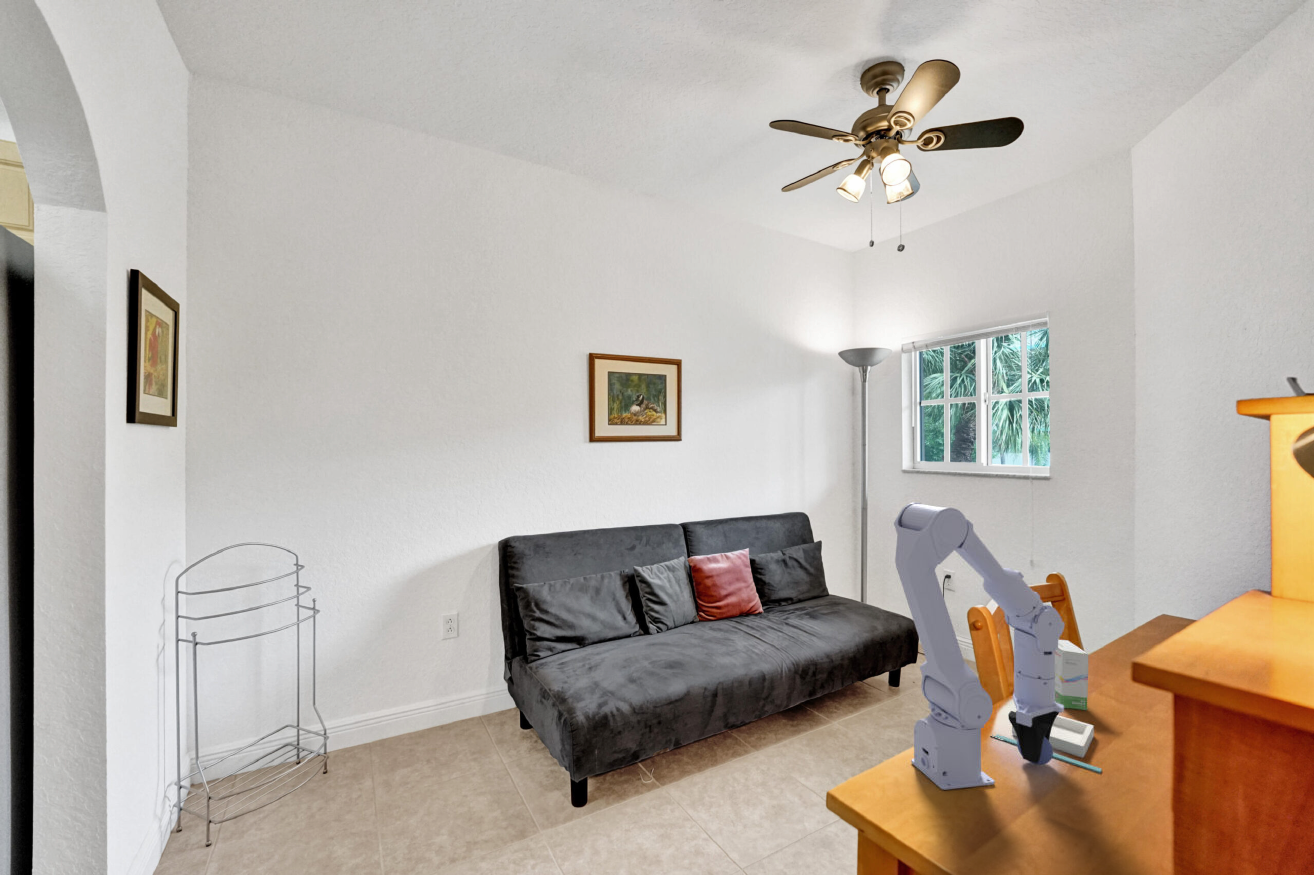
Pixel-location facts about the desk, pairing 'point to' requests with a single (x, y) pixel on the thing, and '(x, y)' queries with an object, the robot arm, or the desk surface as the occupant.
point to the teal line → (1059, 757)
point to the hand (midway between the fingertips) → (1034, 754)
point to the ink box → (1071, 676)
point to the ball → (1042, 752)
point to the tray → (1070, 736)
